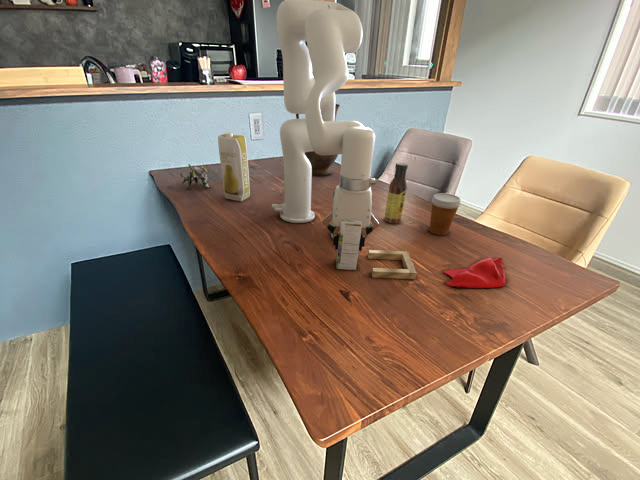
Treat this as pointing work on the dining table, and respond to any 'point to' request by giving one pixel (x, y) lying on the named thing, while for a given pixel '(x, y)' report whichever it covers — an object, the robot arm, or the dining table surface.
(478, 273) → the cloth
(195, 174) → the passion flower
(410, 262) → the stop frame
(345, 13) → the robot arm
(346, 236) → the syrup box
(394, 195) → the sauce bottle
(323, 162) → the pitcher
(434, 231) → the disposable coffee cup
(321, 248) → the dining table surface
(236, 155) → the juice carton
